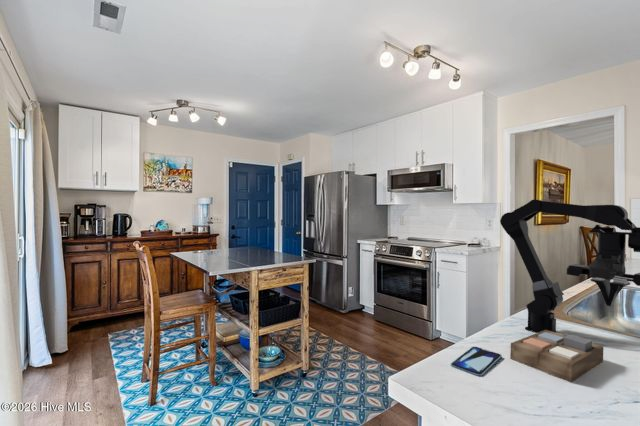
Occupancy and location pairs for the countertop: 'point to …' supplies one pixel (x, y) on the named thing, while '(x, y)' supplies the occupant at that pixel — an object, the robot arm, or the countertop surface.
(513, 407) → the countertop surface
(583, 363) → the wooden sorting tray
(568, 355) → the key
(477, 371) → the smartphone
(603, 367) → the countertop surface
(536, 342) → the peach block
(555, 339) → the key
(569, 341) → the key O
